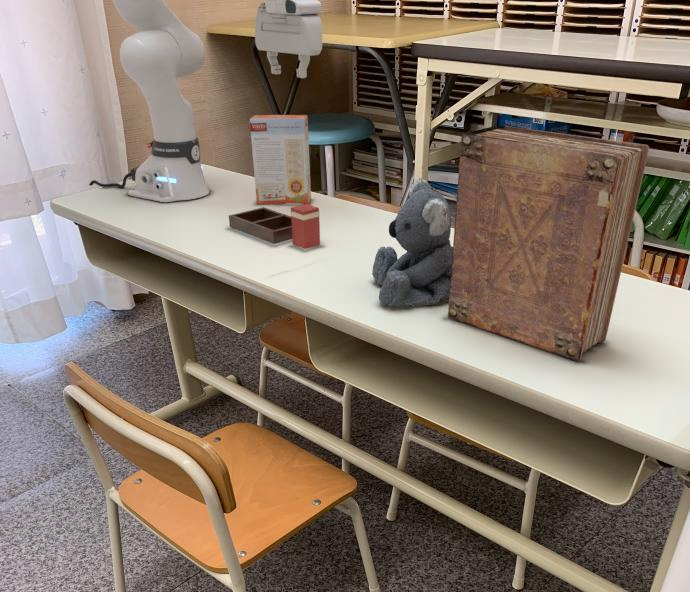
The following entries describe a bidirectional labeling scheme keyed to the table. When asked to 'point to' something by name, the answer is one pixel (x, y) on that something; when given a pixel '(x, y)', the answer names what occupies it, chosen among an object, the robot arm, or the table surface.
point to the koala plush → (417, 252)
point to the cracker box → (281, 158)
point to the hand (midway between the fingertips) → (288, 75)
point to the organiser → (263, 224)
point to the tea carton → (305, 226)
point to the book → (542, 234)
